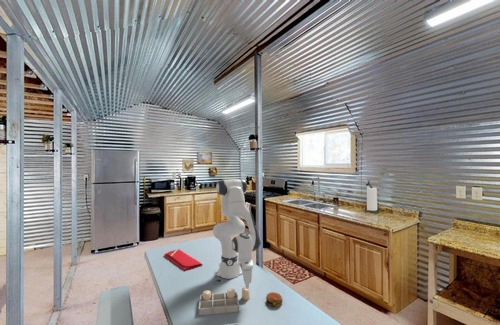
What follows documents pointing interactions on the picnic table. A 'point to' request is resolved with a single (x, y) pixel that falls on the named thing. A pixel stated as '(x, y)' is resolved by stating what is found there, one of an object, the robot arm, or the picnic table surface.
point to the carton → (218, 304)
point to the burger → (274, 299)
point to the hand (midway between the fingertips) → (246, 284)
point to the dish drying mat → (182, 260)
